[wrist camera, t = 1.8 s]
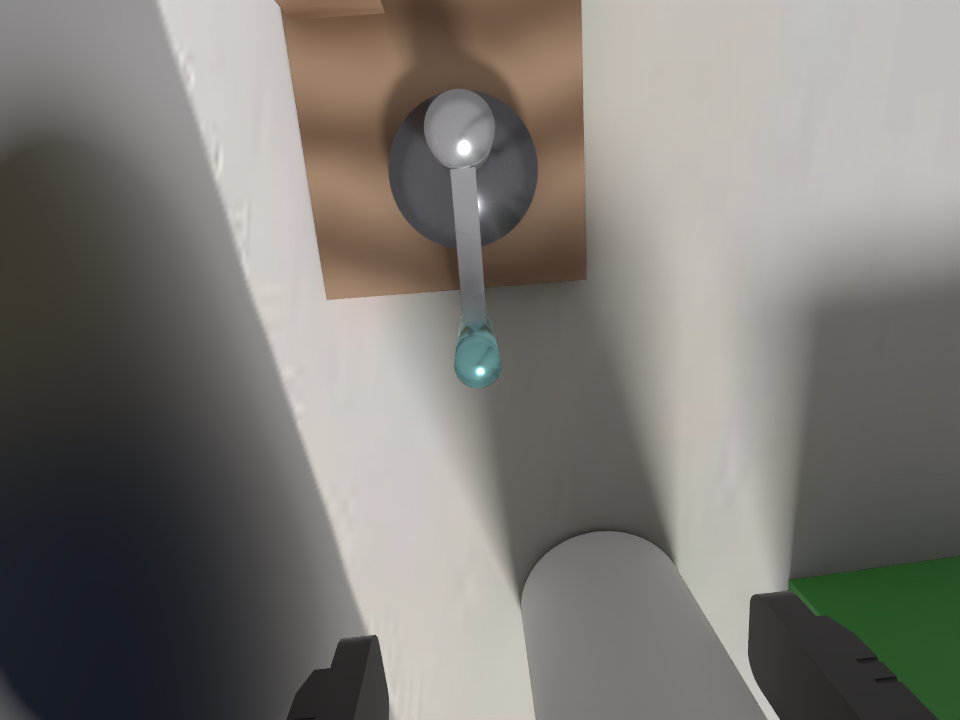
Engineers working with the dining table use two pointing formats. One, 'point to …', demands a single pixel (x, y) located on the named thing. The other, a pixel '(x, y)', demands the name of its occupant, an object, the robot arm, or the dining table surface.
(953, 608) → the hardback book
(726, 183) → the dining table surface
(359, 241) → the stand
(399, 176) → the lever
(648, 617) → the cylinder vase
